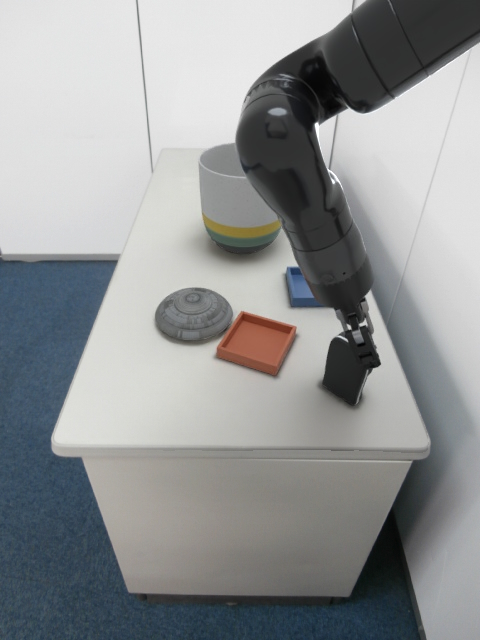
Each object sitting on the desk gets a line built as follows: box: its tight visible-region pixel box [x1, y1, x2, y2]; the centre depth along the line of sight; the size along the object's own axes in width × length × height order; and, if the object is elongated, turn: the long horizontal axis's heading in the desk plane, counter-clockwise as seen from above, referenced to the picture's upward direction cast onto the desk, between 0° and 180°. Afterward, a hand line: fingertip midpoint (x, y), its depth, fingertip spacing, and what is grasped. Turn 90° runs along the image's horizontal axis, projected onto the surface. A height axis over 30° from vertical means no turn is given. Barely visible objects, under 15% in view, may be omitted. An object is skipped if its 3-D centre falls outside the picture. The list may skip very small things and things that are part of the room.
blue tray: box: [285, 266, 325, 308], centre depth 96 cm, size 11×11×2 cm
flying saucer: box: [154, 286, 234, 341], centre depth 87 cm, size 15×15×6 cm
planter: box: [197, 142, 282, 255], centre depth 102 cm, size 20×20×21 cm
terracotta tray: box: [216, 310, 298, 377], centre depth 82 cm, size 11×11×2 cm
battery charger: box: [321, 330, 374, 406], centre depth 72 cm, size 7×4×11 cm, turn 45°
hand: (366, 340), depth 62 cm, fingers open, 8 cm apart
